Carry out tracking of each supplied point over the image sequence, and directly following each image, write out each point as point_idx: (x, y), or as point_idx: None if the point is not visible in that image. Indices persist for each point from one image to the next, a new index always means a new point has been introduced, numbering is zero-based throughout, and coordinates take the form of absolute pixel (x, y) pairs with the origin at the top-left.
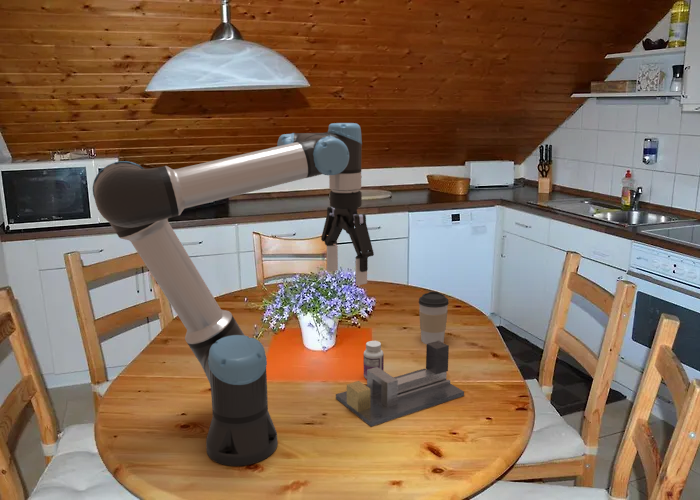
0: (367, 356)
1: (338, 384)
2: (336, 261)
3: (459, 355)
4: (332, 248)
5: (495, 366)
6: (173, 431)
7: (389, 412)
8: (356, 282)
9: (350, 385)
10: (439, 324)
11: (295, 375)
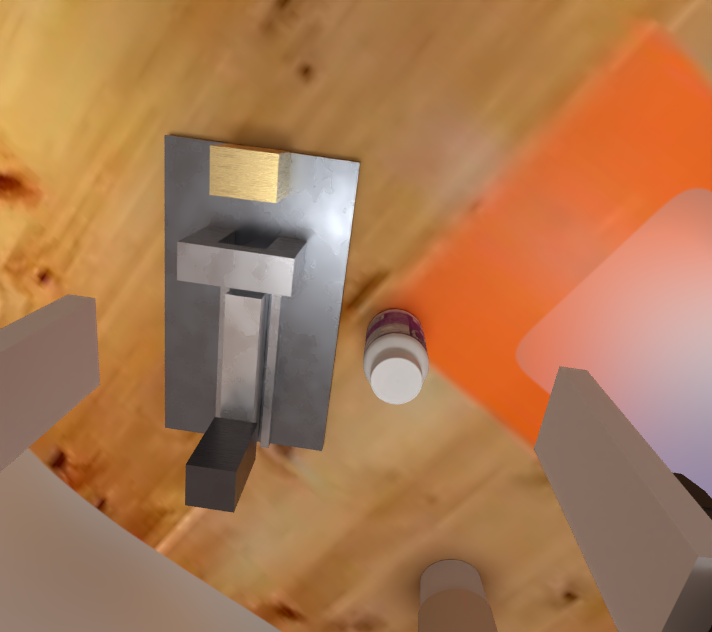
0: (390, 336)
1: (426, 226)
2: (563, 493)
3: (339, 563)
4: (648, 580)
5: (242, 572)
6: None
7: (180, 212)
8: (68, 303)
9: (265, 159)
10: (420, 628)
11: (575, 158)
